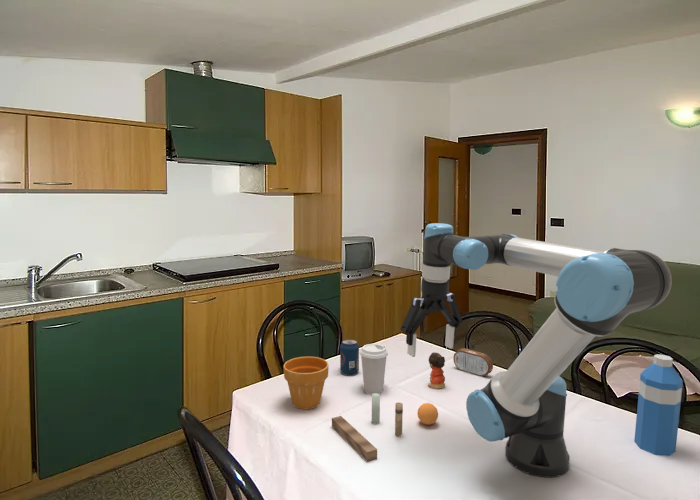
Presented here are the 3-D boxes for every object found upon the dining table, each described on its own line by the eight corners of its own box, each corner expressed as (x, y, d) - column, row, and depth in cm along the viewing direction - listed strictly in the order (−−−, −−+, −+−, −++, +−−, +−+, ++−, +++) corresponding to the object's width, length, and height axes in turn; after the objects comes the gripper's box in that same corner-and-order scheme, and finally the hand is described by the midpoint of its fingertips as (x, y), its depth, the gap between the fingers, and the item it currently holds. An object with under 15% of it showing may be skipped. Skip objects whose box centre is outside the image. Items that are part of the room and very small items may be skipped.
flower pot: (334, 409, 147) (334, 369, 145) (289, 416, 143) (289, 375, 141) (321, 390, 160) (321, 354, 159) (280, 397, 156) (279, 359, 154)
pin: (403, 435, 132) (404, 404, 131) (397, 437, 131) (398, 406, 130) (399, 431, 134) (400, 401, 133) (393, 433, 133) (393, 403, 132)
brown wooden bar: (377, 458, 121) (377, 449, 121) (367, 461, 120) (367, 452, 119) (340, 423, 138) (340, 415, 138) (331, 426, 137) (331, 418, 137)
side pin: (381, 422, 139) (381, 395, 138) (374, 424, 138) (374, 397, 137) (376, 419, 141) (377, 392, 140) (370, 421, 140) (370, 394, 139)
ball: (442, 425, 138) (442, 406, 137) (425, 430, 135) (426, 410, 134) (429, 416, 143) (429, 397, 142) (413, 421, 140) (413, 402, 139)
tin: (492, 377, 172) (493, 355, 171) (489, 379, 170) (490, 357, 169) (455, 366, 182) (456, 345, 181) (451, 368, 180) (452, 347, 179)
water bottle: (676, 460, 121) (686, 366, 117) (633, 449, 125) (642, 359, 122) (674, 443, 128) (683, 355, 125) (634, 433, 133) (642, 348, 130)
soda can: (338, 369, 178) (338, 339, 177) (356, 368, 180) (356, 337, 178) (342, 377, 172) (342, 345, 170) (361, 375, 173) (361, 343, 172)
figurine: (448, 385, 165) (449, 352, 163) (442, 391, 160) (443, 357, 159) (431, 381, 168) (432, 348, 167) (425, 386, 164) (426, 353, 162)
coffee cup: (385, 397, 156) (386, 353, 154) (357, 394, 158) (357, 351, 155) (389, 385, 165) (389, 343, 163) (362, 382, 167) (362, 342, 165)
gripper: (460, 272, 140) (455, 339, 144) (390, 280, 128) (386, 353, 132) (478, 278, 134) (472, 348, 138) (406, 287, 122) (402, 364, 126)
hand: (430, 351), depth 135 cm, fingers open, 13 cm apart
